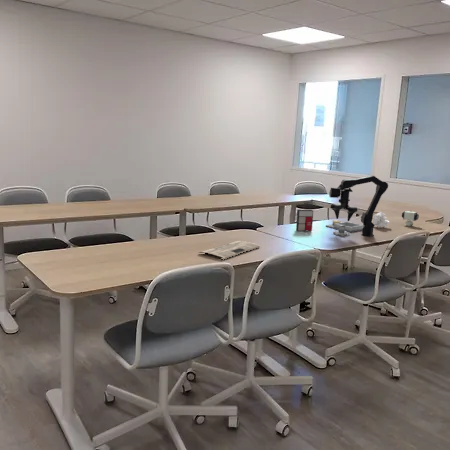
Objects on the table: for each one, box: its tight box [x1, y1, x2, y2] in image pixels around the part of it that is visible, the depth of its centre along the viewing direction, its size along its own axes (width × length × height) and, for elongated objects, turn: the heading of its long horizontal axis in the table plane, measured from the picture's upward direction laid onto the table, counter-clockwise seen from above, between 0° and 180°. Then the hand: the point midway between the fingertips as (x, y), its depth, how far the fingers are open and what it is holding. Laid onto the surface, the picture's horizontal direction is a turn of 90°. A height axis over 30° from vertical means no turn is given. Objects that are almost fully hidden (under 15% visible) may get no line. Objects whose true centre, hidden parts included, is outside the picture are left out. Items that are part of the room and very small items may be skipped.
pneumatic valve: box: [401, 210, 420, 227], centre depth 364 cm, size 6×12×12 cm, turn 49°
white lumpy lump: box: [372, 211, 390, 229], centre depth 352 cm, size 11×12×12 cm
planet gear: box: [332, 225, 350, 237], centre depth 325 cm, size 11×11×6 cm
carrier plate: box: [325, 219, 364, 233], centre depth 346 cm, size 22×17×4 cm
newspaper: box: [198, 240, 261, 261], centre depth 271 cm, size 37×19×3 cm, turn 143°
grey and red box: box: [295, 209, 314, 232], centre depth 331 cm, size 11×4×15 cm, turn 101°
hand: (342, 220), depth 323 cm, fingers open, 9 cm apart
